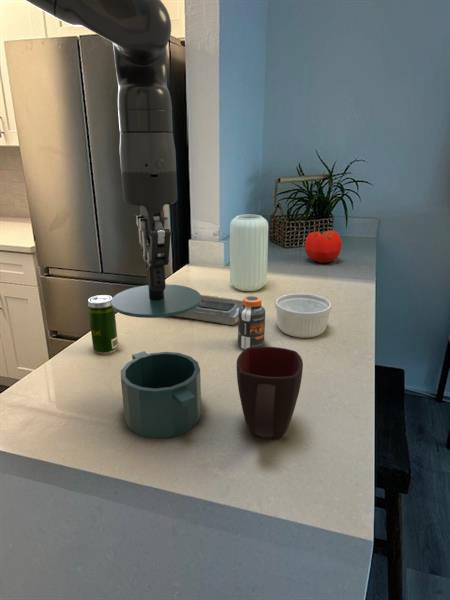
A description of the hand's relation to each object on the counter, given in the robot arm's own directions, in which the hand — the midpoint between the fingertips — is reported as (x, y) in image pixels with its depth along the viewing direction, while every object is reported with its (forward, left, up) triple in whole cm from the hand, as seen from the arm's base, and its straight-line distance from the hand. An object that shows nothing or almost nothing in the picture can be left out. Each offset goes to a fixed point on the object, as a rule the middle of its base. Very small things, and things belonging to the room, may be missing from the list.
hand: (156, 286), depth 65 cm
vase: (+39, +57, -23) cm, 72 cm away
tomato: (+77, +76, -23) cm, 110 cm away
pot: (0, 0, -23) cm, 23 cm away
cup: (+14, -11, -23) cm, 29 cm away
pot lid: (0, 0, -2) cm, 2 cm away
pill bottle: (+24, +19, -23) cm, 38 cm away
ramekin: (+39, +23, -23) cm, 50 cm away
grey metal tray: (+19, +42, -23) cm, 51 cm away
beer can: (-7, +28, -23) cm, 37 cm away
